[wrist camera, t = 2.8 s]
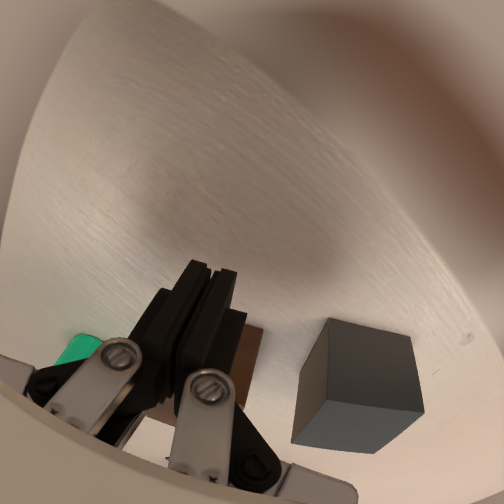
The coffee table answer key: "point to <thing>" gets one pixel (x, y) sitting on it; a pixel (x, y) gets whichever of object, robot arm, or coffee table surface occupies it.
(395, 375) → the slate block
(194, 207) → the coffee table surface
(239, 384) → the walnut block
